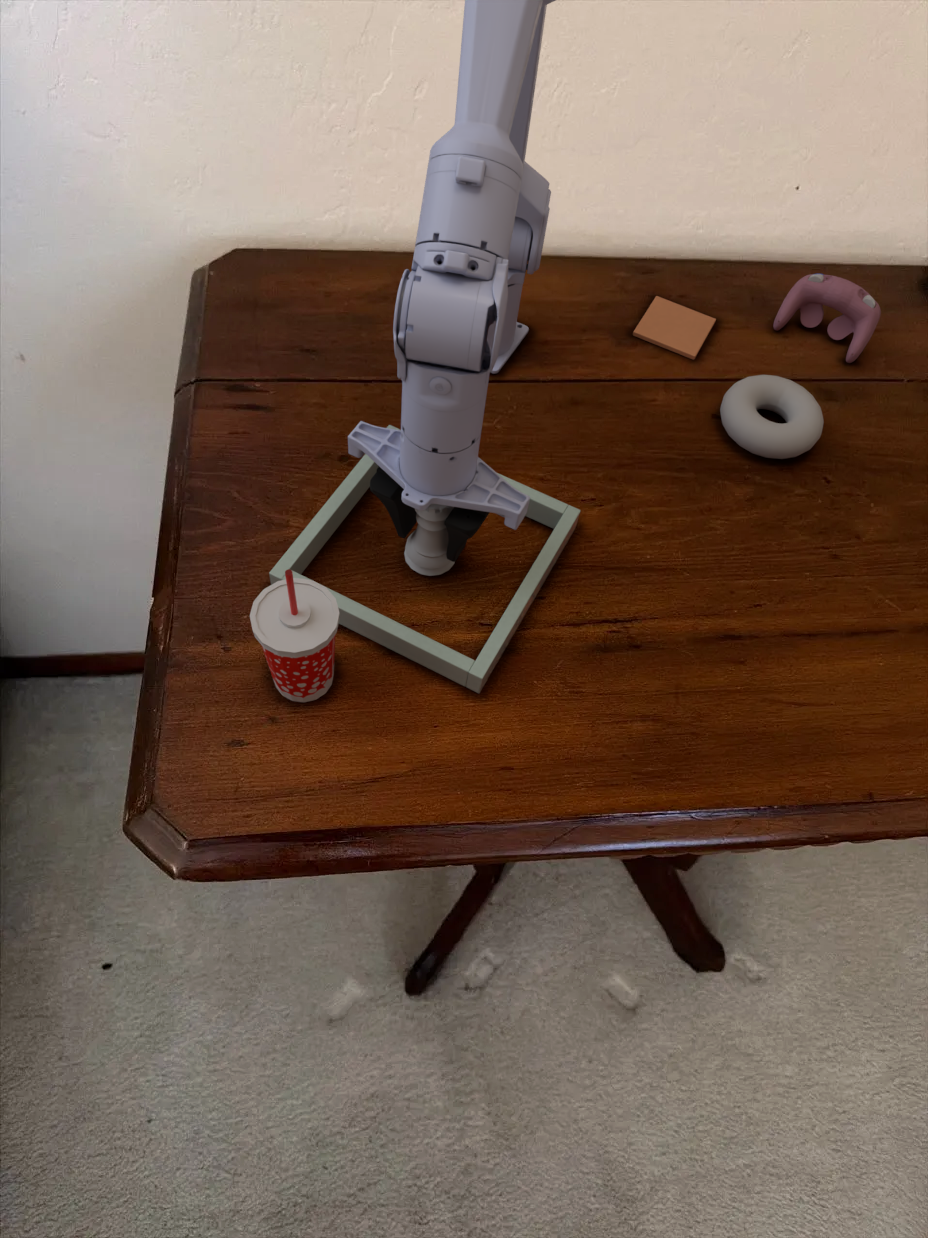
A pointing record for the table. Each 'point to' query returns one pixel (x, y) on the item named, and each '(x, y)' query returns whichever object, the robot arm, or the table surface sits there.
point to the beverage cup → (297, 635)
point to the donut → (764, 433)
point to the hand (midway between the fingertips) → (431, 540)
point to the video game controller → (840, 296)
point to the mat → (674, 327)
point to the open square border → (403, 637)
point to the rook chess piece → (429, 542)
